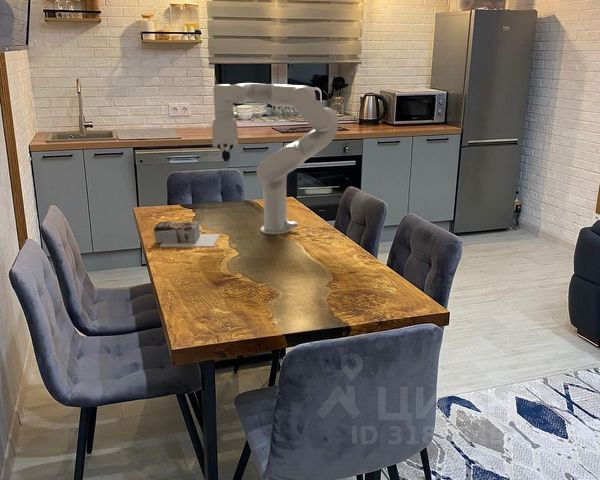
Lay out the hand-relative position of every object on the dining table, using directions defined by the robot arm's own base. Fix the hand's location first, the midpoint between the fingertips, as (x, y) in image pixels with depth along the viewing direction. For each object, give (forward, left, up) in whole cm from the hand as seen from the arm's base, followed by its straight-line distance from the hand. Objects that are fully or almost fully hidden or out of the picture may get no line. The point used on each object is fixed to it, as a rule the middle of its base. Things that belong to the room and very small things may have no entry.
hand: (226, 160), depth 245 cm
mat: (+13, +18, -29) cm, 36 cm away
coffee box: (+10, +18, -26) cm, 33 cm away
